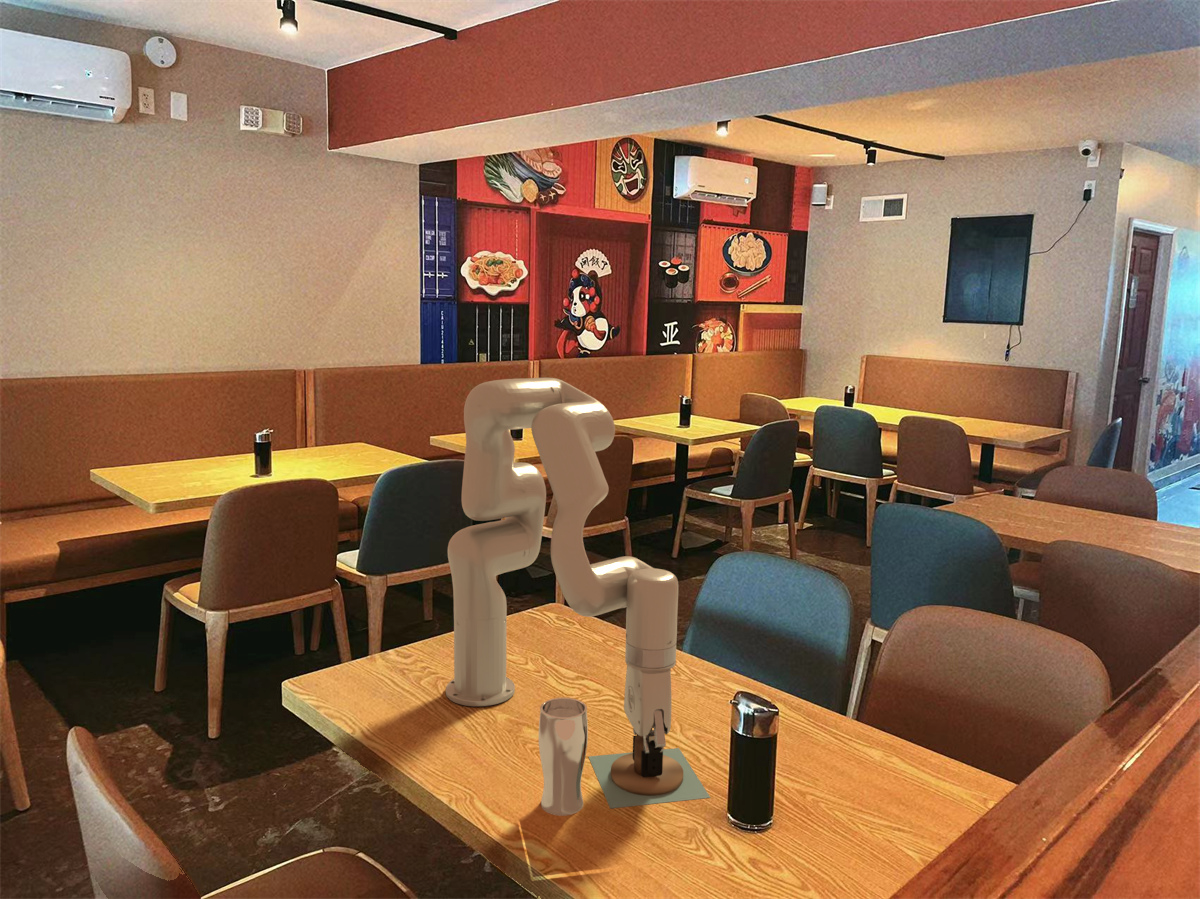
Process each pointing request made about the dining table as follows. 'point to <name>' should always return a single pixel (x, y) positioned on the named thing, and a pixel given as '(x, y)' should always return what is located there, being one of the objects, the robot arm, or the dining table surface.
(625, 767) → the walnut lid
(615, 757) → the rubber mat
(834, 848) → the dining table surface
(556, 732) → the beer glass
